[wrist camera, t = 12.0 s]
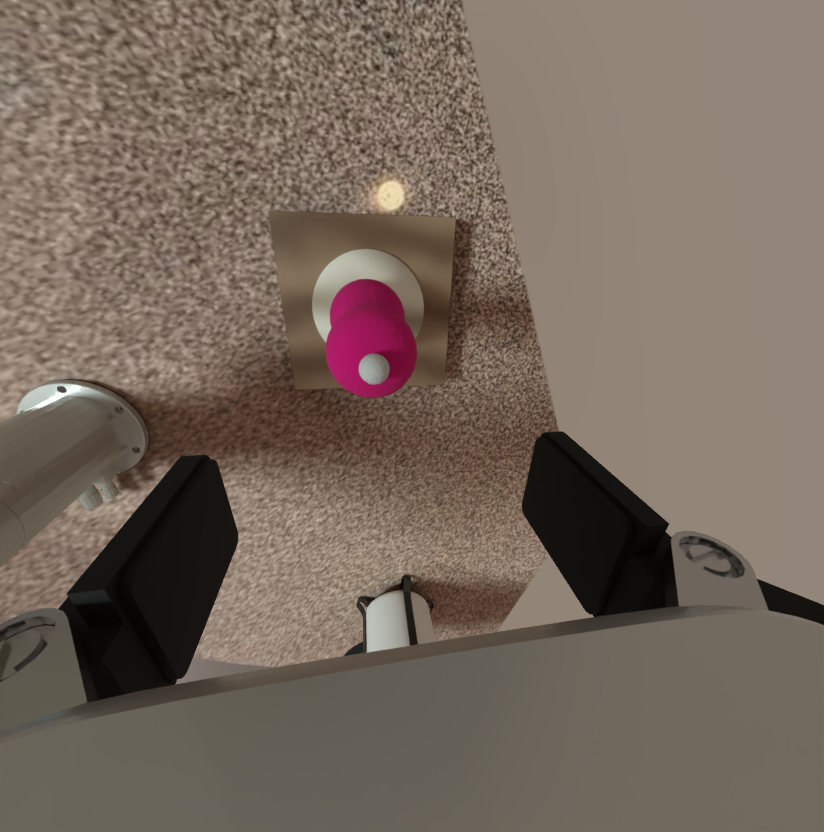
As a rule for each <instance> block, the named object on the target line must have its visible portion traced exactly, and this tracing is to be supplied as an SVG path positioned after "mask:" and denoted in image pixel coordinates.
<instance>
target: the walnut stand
mask: <svg viewBox="0 0 824 832" xmlns="http://www.w3.org/2000/svg"><path fill="white" fill-rule="evenodd" d="M268 212H269V218H270V225H271V232H272V238H273V245H274V251H275V258H276V265H277V271H278V278H279V284H280V291H281V298H282V304H283V311H284V317H285V324H286V331H287V337H288V344H289V350H290V357H291V364H292V370H293V377H294V383H295V390H305V389H333V388H343V387H342V386H341V385H340V384H339V383H338V382H337V381H336V380H335V378H334V377H333V375H332V373H331V371H330V369H329V367H328V364H327V359H326V341H327V337H328V334H329V332H330V330H331V324H330V308H331V304H332V302H333V299H334V297H335V296H336V294H337V293H338V292H339V290H340V289H341V288H343V287H344V286H345V285H347V284H348V283H350V282H352V281H355V280H358V279H373V280H377V281H380V282H382V283H384V284H386V285H387V286H389V287H390V288H391V289H392V290H393V291H394V292H395V293H396V294H397V296H398V297H399V299H400V301H401V303H402V305H403V309H404V314H405V321H406V323H407V324H408V325H409V326H410V328H411V330H412V332H413V335H414V337H415V340H416V345H417V361H416V365H415V368H414V371H413V373H412V375H411V377H410V378H409V379H408V381H407V382H406V383H405V384H404V385H403V386H417V385H444V384H445V370H446V356H447V341H448V326H449V311H450V297H451V282H452V267H453V253H454V238H455V223H456V217H431V216H402V215H373V214H344V213H315V212H286V211H268Z"/></svg>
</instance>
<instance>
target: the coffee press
mask: <svg viewBox="0 0 824 832" xmlns="http://www.w3.org/2000/svg"><path fill="white" fill-rule="evenodd" d="M410 590H411V577H406V576H403V577H402V580H401V588H400V590H399V591H392V592H388V593H385V594H383V595H381V596H379V597H377V598H376V599H375V600H373V601H372V602H371V603H370V602H369V601H368V600H367V599H366V598H365V597H359V599H358V601H357V604H356V606H357V608H358V609H359V610H360V612H361V613H362V616H363V642H361V643H359V644H358V645H356V646H354V647H353V648H351V649H350V650H349V651H348V652H347V653H346V654H345V655H344V656H348V655H354V654H361V653H367V652H373V651H379V650H386V649H392V648H398V647H405V646H411V645H417V644H424V643H430V642H435V637H434V631H433V626H432V621H431V616H430V613H431V611H432V609H433V607H434V605H433V603H432V602H431V601H427V602H426V601H425V599H424V598H423V597H421V596H420V595H418V594H417V593H414V592H411V591H410ZM360 602H362V603H364V604H365V605H366V606H367V607H368V608H367V609H366V612H365V610H364V608H363V606H362V605H361V604H360ZM428 606H429V607H430V608H431V611H430V612H429V607H428Z"/></svg>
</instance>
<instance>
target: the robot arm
mask: <svg viewBox="0 0 824 832" xmlns="http://www.w3.org/2000/svg"><path fill="white" fill-rule="evenodd" d="M148 443H149V436H148V430H147V428H146V425H145V423H144V421H143V419H142V418H141V416H140V415H139V413H138V412H137V411H136V410H135V409H134V408H133V407H132V405H130V404H129V403H128V402H127V401H125V400H124V399H123V398H122V397H120V396H118V395H117V394H115V393H113V392H112V391H110V390H107V389H105V388H103V387H101V386H98V385H95V384H91V383H88V382H83V381H76V380H59V381H53V382H49V383H46V384H43V385H41V386H38V387H36V388H34V389H32V390H30V391H29V392H28V393H27V394H26V395H25V396H24V397H23V398H22V399H21V401H20V403H19V404H18V408H17V415H15V416H13V417H11V418H9V419H7V420H5V421H3V422H1V423H0V567H1V566H2V565H3V564H5V563H6V562H7V561H8V560H9V559H10V558H11V557H12V556H13V555H15V554H16V553H17V552H18V551H19V550H20V549H21V548H23V547H24V546H25V545H26V544H27V543H28V542H29V541H30V540H32V539H33V538H34V537H35V536H36V535H37V534H38V533H39V532H40V531H42V530H43V529H44V528H45V527H46V526H47V525H48V524H49V523H50V522H52V521H53V520H54V519H55V518H56V517H57V516H58V515H59V514H61V513H62V512H63V511H64V510H65V509H66V508H67V507H68V506H69V505H71V504H72V503H73V502H74V501H75V500H76V499H77V498H78V499H79V501H80V503H81V504H82V506H83V508H84V509H93V508H95V507H98V506H100V505H101V504H102V503H103V499H102V497H101V495H100V493H99V491H98V489H96V487H95V484H98V485H100V487H101V490H102V492H103V494H104V496H105V498H107V499H110V498H113V497H116V496H117V495H118V494H119V491H118V489H117V487H116V485H115V484H114V482H113V479H114V476H115V475H116V474H118V473H121V472H124V471H126V470H128V469H130V468H131V467H133V466H134V465H135V464H137V463H138V462H139V461H140V460H141V458H142V457H143V456H144V455H145V453H146V451H147V448H148ZM522 510H523V514H524V516H525V517H526V519H527V520H528V522H529V524H530V525H531V527H532V528H533V530H534V531H535V533H536V534H537V536H538V538H539V539H540V541H541V542H542V544H543V545H544V547H545V549H546V550H547V552H548V553H549V555H550V556H551V558H552V559H553V561H554V563H555V564H556V566H557V567H558V569H559V570H560V572H561V574H562V575H563V577H564V578H565V580H566V581H567V583H568V584H569V586H570V588H571V589H572V591H573V592H574V594H575V595H576V597H577V599H578V600H579V602H580V603H581V605H582V606H583V608H584V609H585V611H586V612H588V613H589V614H593V616H594V617H593V618H586V619H580V620H573V621H566V622H560V623H553V624H547V625H541V626H534V627H527V628H520V629H513V630H507V631H500V632H494V633H487V634H481V635H475V636H468V637H462V638H456V639H449V640H443V641H436V642H430V643H424V644H417V645H411V646H405V647H398V648H392V649H386V650H379V651H373V652H367V653H361V654H354V655H348V656H342V657H336V658H330V659H324V660H318V661H311V662H305V663H299V664H293V665H287V666H281V667H275V668H269V669H262V670H256V671H250V672H244V673H238V674H232V675H226V676H221V677H215V678H209V679H204V680H198V681H194V682H188V683H182V684H176V681H177V679H180V678H183V677H184V676H185V674H186V672H187V670H188V668H189V666H190V663H191V661H192V658H193V656H194V653H195V651H196V648H197V646H198V643H199V640H200V638H201V635H202V633H203V630H204V628H205V625H206V623H207V620H208V618H209V615H210V613H211V610H212V607H213V605H214V602H215V600H216V597H217V595H218V592H219V590H220V587H221V585H222V582H223V579H224V577H225V574H226V572H227V569H228V567H229V564H230V562H231V559H232V557H233V554H234V552H235V549H236V546H237V543H238V531H237V528H236V524H235V521H234V518H233V514H232V511H231V507H230V504H229V501H228V497H227V494H226V491H225V487H224V484H223V480H222V477H221V474H220V470H219V467H218V464H217V462H216V460H210V458H209V457H208V456H207V455H194V456H182V457H180V458H179V459H178V460H177V462H176V463H175V464H174V465H173V466H172V468H171V469H170V470H169V471H168V472H167V474H166V475H165V476H164V477H163V478H162V480H161V481H160V482H159V483H158V485H157V486H156V487H155V488H154V489H153V491H152V492H151V493H150V494H149V495H148V497H147V498H146V499H145V500H144V501H143V503H142V504H141V505H140V506H139V507H138V509H137V510H136V511H135V512H134V513H133V515H132V516H131V517H130V518H129V519H128V521H127V522H126V523H125V524H124V525H123V527H122V528H121V529H120V530H119V531H118V533H117V534H116V535H115V536H114V537H113V539H112V540H111V541H110V542H109V543H108V545H107V546H106V547H105V548H104V549H103V551H102V552H101V553H100V554H99V555H98V557H97V558H96V559H95V560H94V561H93V563H92V564H91V565H90V566H89V567H88V569H87V570H86V571H85V572H84V573H83V575H82V576H81V577H80V578H79V579H78V581H77V582H76V583H75V584H74V585H73V587H72V588H71V589H70V590H69V592H68V593H67V595H68V598H67V599H66V600H65V601H64V603H63V604H62V605H61V606H60V608H59V609H55V608H45V609H37V610H34V611H30V612H26V613H23V614H21V615H18V616H16V617H14V618H11V619H9V620H7V621H5V622H3V623H1V624H0V832H824V605H822V604H819V603H817V602H814V601H812V600H809V599H806V598H804V597H802V596H799V595H797V594H794V593H791V592H789V591H786V590H784V589H781V588H779V587H776V586H774V585H771V584H769V583H766V582H764V581H761V580H759V579H757V578H756V575H755V573H754V571H753V569H752V567H751V565H750V564H749V562H748V561H747V560H746V559H745V558H744V557H743V556H742V555H741V554H740V553H738V552H737V551H736V550H734V549H733V548H731V547H730V546H729V545H727V544H725V543H723V542H721V541H720V540H718V539H715V538H713V537H710V536H707V535H705V534H701V533H697V532H692V531H682V532H677V533H676V534H674V535H673V536H672V537H670V536H669V535H668V534H667V533H666V532H665V531H666V529H667V527H668V525H669V523H668V522H666V521H665V520H664V519H663V518H662V517H661V516H660V515H658V514H657V513H656V512H655V511H654V510H653V509H651V508H650V507H649V506H648V505H647V504H646V503H645V502H643V501H642V500H641V499H640V498H639V497H638V496H637V495H635V494H634V493H633V492H632V491H631V490H630V489H629V488H627V487H626V486H625V485H624V484H623V483H622V482H620V481H619V480H618V479H617V478H616V477H615V476H614V475H612V474H611V473H610V472H609V471H608V470H607V469H605V467H603V466H602V465H601V464H599V462H597V461H596V460H595V459H594V458H593V457H592V456H591V455H590V454H588V453H587V452H586V451H585V450H584V449H583V448H582V447H580V446H579V445H578V444H577V443H576V442H575V441H574V440H572V439H571V438H570V437H569V436H568V435H567V434H565V433H564V432H545V433H543V434H542V435H541V437H539V438H537V440H536V442H535V446H534V451H533V456H532V460H531V465H530V470H529V474H528V479H527V483H526V488H525V493H524V497H523V502H522ZM175 684H176V685H175Z"/></svg>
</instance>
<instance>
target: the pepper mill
mask: <svg viewBox="0 0 824 832" xmlns="http://www.w3.org/2000/svg"><path fill="white" fill-rule="evenodd" d="M330 324H331V330H330V332H329V334H328V337H327V341H326V359H327V364H328V367H329V369H330V371H331V373H332V375H333V377H334V378H335V380H336V381H337V382H338V383H339V384H340V385H341V386H342V387H343V388H345V389H346V390H348V391H349V392H351V393H353V394H355V395H358V396H362V397H366V398H378V397H383V396H387V395H390V394H392V393H394V392H396V391H397V390H399V389H400V388H401V387H402V386H403V385H404V384H405V383H406V382H407V381H408V379H409V378H410V377H411V375H412V373H413V371H414V368H415V365H416V361H417V345H416V340H415V337H414V335H413V332H412V330H411V328H410V326H409V325H408V324H407V323H406V321H405V314H404V309H403V305H402V303H401V301H400V299H399V297H398V296H397V294H396V293H395V292H394V291H393V290H392V289H391V288H390V287H389V286H387V285H386V284H384V283H382V282H380V281H377V280H373V279H358V280H355V281H352V282H350V283H348V284H347V285H345V286H344V287H343V288H341V289H340V290H339V292H338V293H337V294H336V296H335V297H334V299H333V302H332V304H331V308H330Z"/></svg>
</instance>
